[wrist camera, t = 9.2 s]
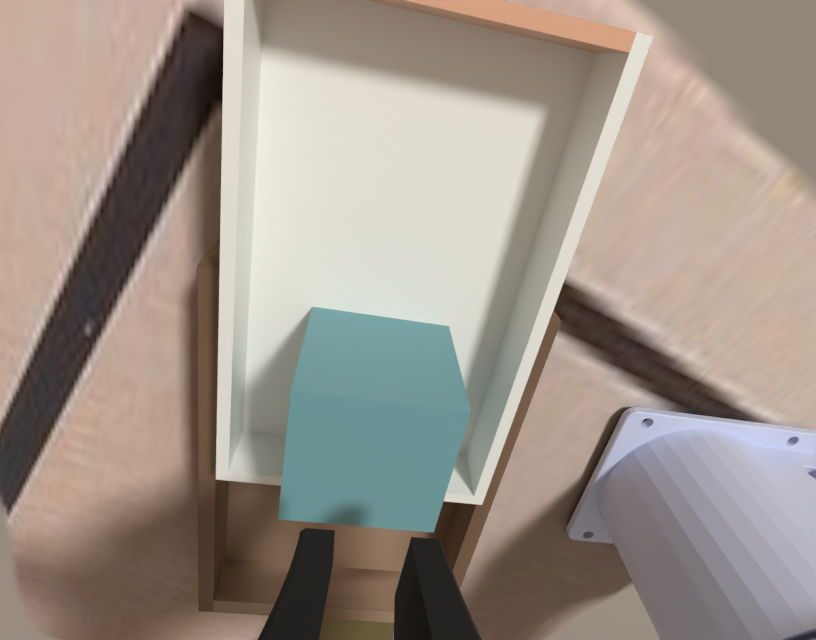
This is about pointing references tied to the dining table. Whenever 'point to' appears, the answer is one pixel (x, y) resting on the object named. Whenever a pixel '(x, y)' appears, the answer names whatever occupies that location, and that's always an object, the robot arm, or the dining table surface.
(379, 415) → the teal block
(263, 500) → the dock
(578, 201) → the tray
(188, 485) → the dining table surface
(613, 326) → the dining table surface
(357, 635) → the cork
